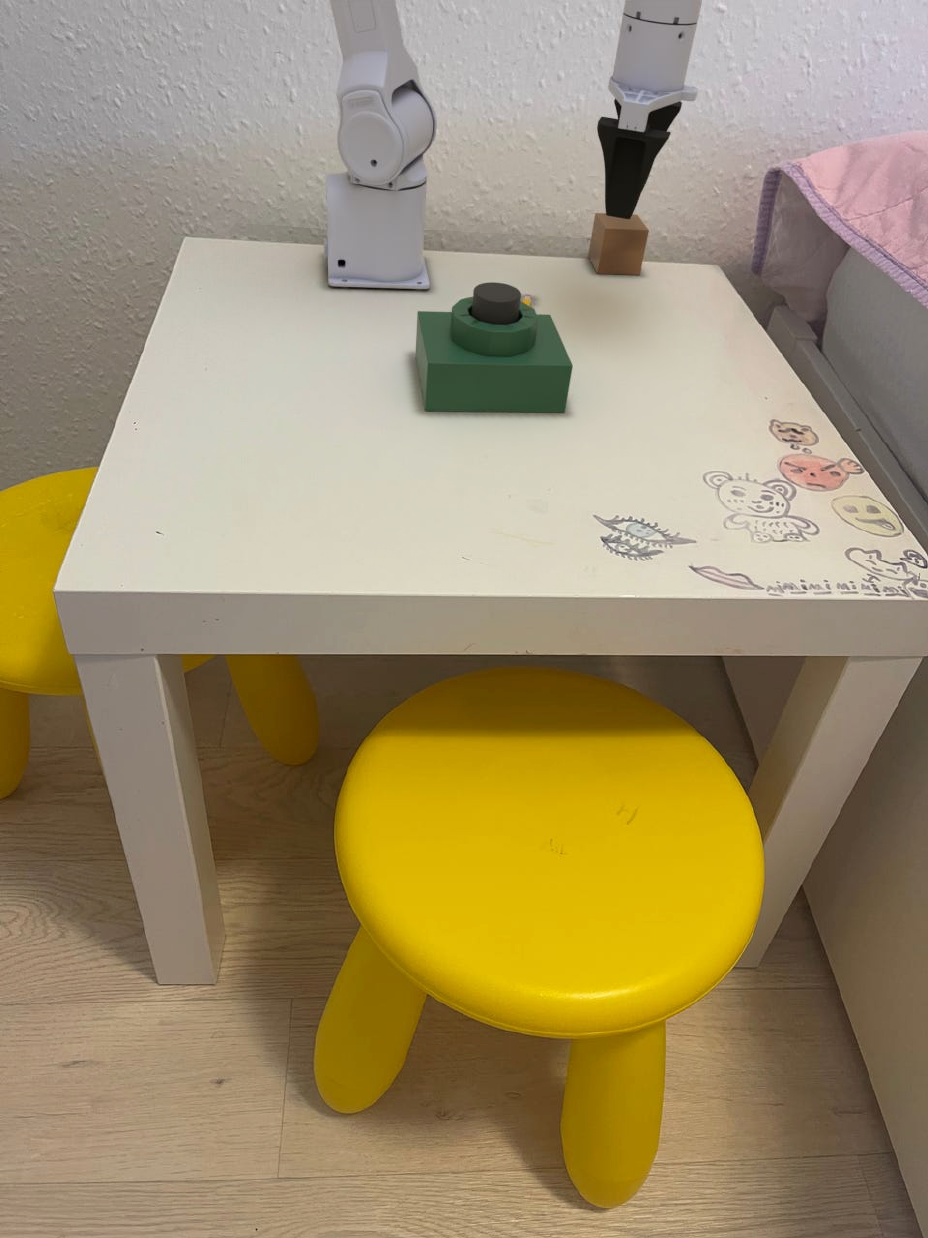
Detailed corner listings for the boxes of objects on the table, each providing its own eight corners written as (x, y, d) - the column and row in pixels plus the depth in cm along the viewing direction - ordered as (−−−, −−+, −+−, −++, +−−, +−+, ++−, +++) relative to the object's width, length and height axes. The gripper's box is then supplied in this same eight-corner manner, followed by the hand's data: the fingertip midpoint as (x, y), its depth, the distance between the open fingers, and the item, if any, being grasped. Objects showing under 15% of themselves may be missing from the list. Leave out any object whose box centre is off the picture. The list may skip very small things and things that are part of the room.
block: (597, 273, 94) (605, 228, 91) (587, 256, 97) (595, 212, 94) (639, 274, 95) (649, 230, 92) (628, 258, 98) (637, 214, 95)
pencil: (531, 301, 88) (532, 294, 88) (518, 339, 82) (519, 331, 81) (523, 300, 88) (524, 293, 88) (509, 337, 82) (510, 330, 81)
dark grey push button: (474, 327, 69) (477, 300, 68) (468, 306, 72) (470, 281, 70) (521, 328, 70) (524, 302, 68) (513, 308, 72) (517, 282, 71)
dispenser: (424, 411, 70) (429, 337, 66) (415, 356, 77) (418, 286, 73) (564, 412, 72) (577, 340, 68) (543, 359, 79) (553, 290, 75)
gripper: (705, 40, 65) (661, 237, 74) (718, 10, 75) (678, 186, 84) (606, 26, 66) (575, 222, 75) (633, -2, 76) (602, 173, 85)
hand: (624, 202), depth 80 cm, fingers open, 7 cm apart
